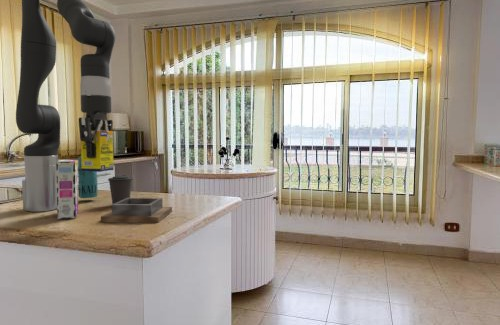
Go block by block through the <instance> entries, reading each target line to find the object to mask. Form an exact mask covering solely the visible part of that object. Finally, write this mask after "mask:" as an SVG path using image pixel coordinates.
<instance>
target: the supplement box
mask: <svg viewBox="0 0 500 325" xmlns="http://www.w3.org/2000/svg"><path fill="white" fill-rule="evenodd" d="M84 132H85V131H84ZM113 134H114V131H97V135H96V142H95V143H94V144H96V157H95V158H87V156H86V143H84V141H81V140H80V154H81V155H80V156H81V163H82V171H91V172H97V173H99V172H100V173H101V172H107V171H114V137H113V136H114V135H113ZM84 136H85V134H84ZM92 136H93V135H92Z"/></svg>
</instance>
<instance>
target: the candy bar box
mask: <svg viewBox="0 0 500 325" xmlns="http://www.w3.org/2000/svg"><path fill="white" fill-rule="evenodd" d="M56 171H57V209H56V212H57V218H56V219H57V220H60V221H61V220H73V219H76V218H77V217H78V216H77V215H78V212H79V196H78V195H79V190H78V186H79V185H78V159H60V160H58V162H56Z"/></svg>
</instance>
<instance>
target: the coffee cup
mask: <svg viewBox="0 0 500 325" xmlns="http://www.w3.org/2000/svg"><path fill="white" fill-rule="evenodd" d="M133 179H134V178H133V177H131V176H128V175H124V174H123V175H115V176H112V177H109V178H108V179H107V181H108V182H109V189H110V197H111V202H112V204H114V203H117V202H119V201H121V200H123V199H126V198H131V193H132V192H131V190H132V183H133V182H132V181H133ZM112 204H111V205H112Z"/></svg>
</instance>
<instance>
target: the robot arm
mask: <svg viewBox="0 0 500 325" xmlns="http://www.w3.org/2000/svg"><path fill="white" fill-rule="evenodd" d="M40 2H41V1H40V0H21V13H22V14H21V34H20V72H19V73H20V74H19V75H20V77H19V86H18V94H17V101H16V102H17V103H16V110H15V124H16V126H17V128H18V130H19V131H20V133H22V134H27V135H28V134H29V135H38V136H37V139H36V141H34V142H32V143H30V144H28V145H26V146H24V148H23V156H24V157H23V158H24V160H23V161H24V163H23V164H24V179H22V181H21V187H22V190H21V191H22V211H27V212H35V213H36V212H37V213H38V212H48V211H53V210H57V171H56V162H58V161H59V149H60V146H61V116H60V113H59V111H58V110H57V108H56V107H54V106H53V105H47V104H39V94H40V90H41V87H42V85H43V84H44V82H45V81H46V80H47V78H48V77H49V75H50V74H51V73H52V71H53V70H54V67H55V65H56V63H57V62H56V60H57V41H56V36H55V34H54V33H53V30H52V29H51V28H50V25H49V24H48V22H47V20H46V18H45V16H44V14H43V11H42V8H41V3H40ZM56 8H57V10H58V12H59V13H60V15H61V16H62V18H63V19H64V20H65V21H66V23H67V24H68V26H69V29H70V32H71V35H72V37H73V39H74V40H75V41H77V42H78V43H80V44H81V45H82V44H83V45H85V46H91V47H94V48H96V51H95V53H87V54H83V55H81V57H80V87H79V89H80V92H79V93H80V94H79V95H80V111H81V113H83V114H84V113H85V116H84V117H83V116H81V117H78V129H79V131H78V132H79V139H80V142H81V141H84V143H86V156H87V158H95V157H96V144H94V143H95V142H96V135H97V131H113V128H114V127H113V124H114V122H113V120H112V119H108V118H107V115H108V114H111V113H112V87H111V81H110V64H111V59H112V54H113V49H114V47H115V43H116V32H115V29H114V27H113V25H111V23H109V22H108V21H104V20H101V19H98V18H95V15H94V13H93V11H92V10H91V9H90V7H89V6H87V4H86V3H85V2H84V1H83V0H57V1H56ZM84 131H85V132H84ZM113 132H114V131H113ZM84 134H85V136H84ZM92 135H93V136H92Z"/></svg>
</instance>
